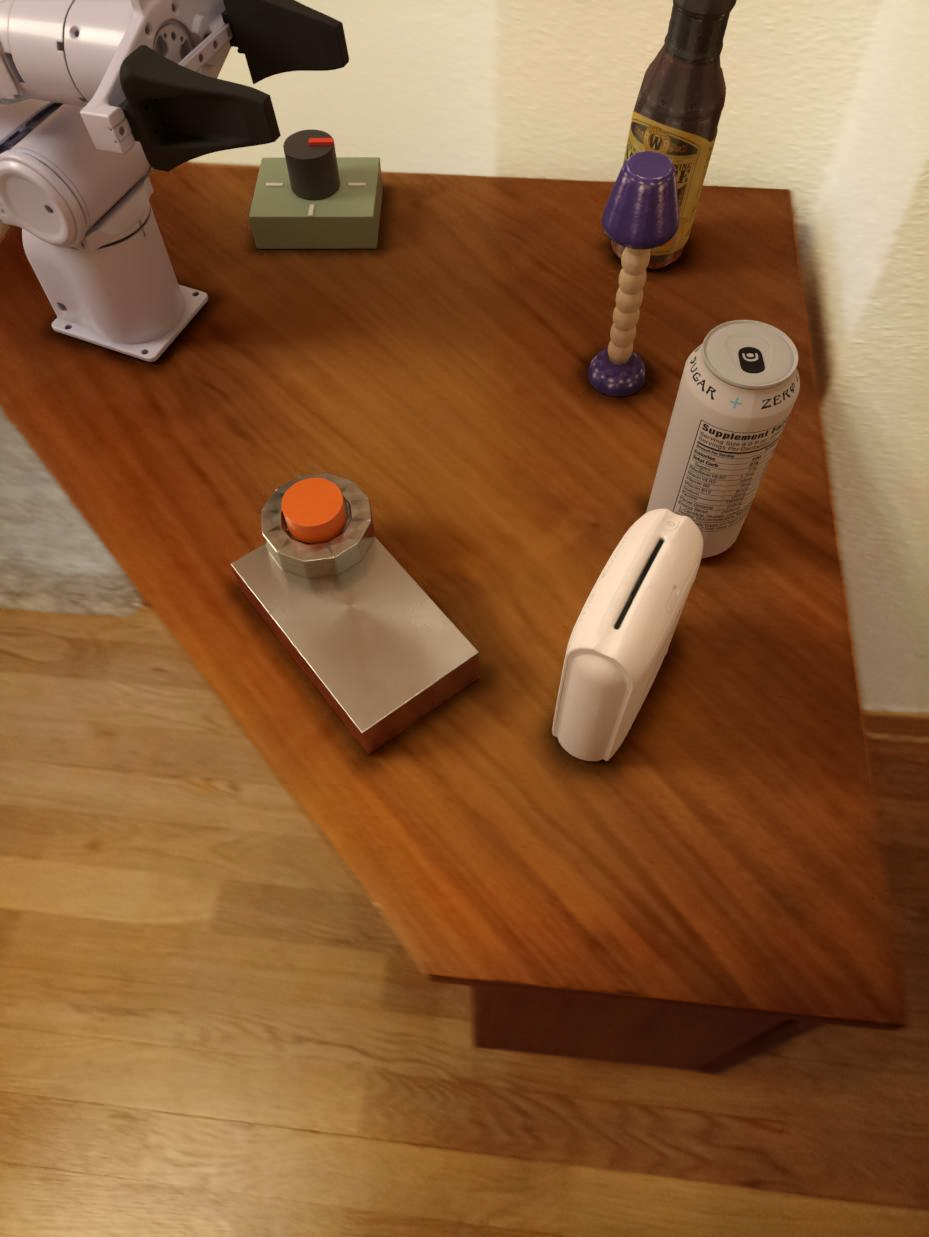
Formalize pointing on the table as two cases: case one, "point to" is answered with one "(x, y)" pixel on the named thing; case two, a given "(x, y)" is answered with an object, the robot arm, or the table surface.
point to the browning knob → (312, 164)
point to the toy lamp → (634, 261)
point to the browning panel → (318, 208)
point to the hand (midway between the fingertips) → (309, 80)
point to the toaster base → (355, 621)
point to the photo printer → (625, 633)
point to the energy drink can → (726, 427)
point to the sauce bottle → (682, 108)
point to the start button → (314, 510)
